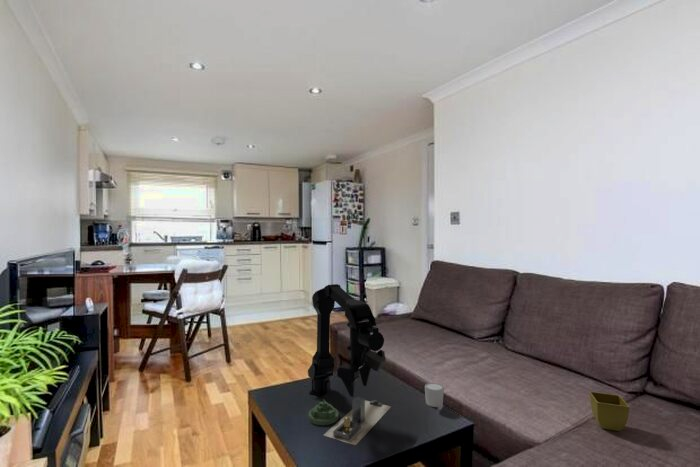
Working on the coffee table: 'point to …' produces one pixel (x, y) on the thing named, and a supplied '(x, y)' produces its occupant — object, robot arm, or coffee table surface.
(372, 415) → the tie-down board
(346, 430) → the keeper post
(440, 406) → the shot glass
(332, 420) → the decorative artifact
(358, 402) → the end link
